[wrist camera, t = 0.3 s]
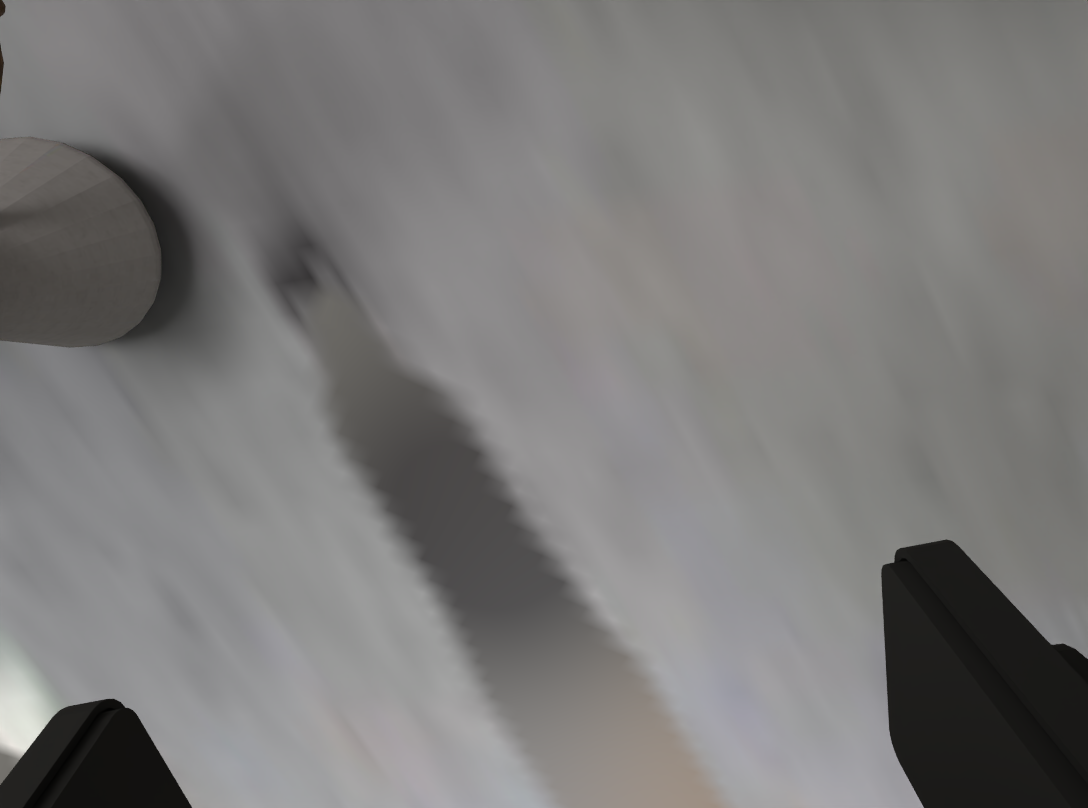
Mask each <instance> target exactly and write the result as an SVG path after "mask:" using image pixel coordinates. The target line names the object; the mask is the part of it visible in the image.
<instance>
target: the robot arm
mask: <svg viewBox="0 0 1088 808" xmlns="http://www.w3.org/2000/svg"><path fill="white" fill-rule="evenodd" d="M881 577H882V597H883V616H884V636H885V655H886V675H887V694H888V714H889V730H890V736H891V741H892V744H893V747H894V750H895V753H896V756H897V758H898V760H899V762H900V764H901V766H902V768H903V770H904V772H905V774H906V775H907V777H908V779H909V781H910V783H911V785H912V786H913V788H914V790H915V792H916V794H917V796H918V797H919V799H920V801H921V803H922V805H923V807H924V808H1088V659H1087V658H1085V657H1084V656H1083V655H1082V654H1081V653H1079V652H1078V651H1077V650H1076V649H1074V648H1072V647H1070V646H1067V645H1065V644H1056V645H1051V644H1050V643H1049V642H1048V641H1047V640H1046V639H1045V638H1044V637H1043V636H1042V635H1041V634H1040V633H1039V632H1038V631H1037V629H1036V628H1035V627H1034V626H1033V625H1032V624H1031V623H1030V622H1029V621H1028V620H1027V619H1026V618H1025V617H1024V616H1023V615H1022V613H1021V612H1020V611H1019V610H1018V609H1017V608H1016V607H1015V606H1014V605H1013V604H1012V603H1011V602H1010V601H1009V600H1008V599H1007V597H1006V596H1005V595H1004V594H1003V593H1002V592H1001V591H1000V590H999V589H998V588H997V587H996V586H995V585H994V584H993V582H992V581H991V580H990V579H989V578H988V577H987V576H986V575H985V574H984V573H983V572H982V571H981V570H980V569H979V568H978V566H977V565H976V564H975V563H974V562H973V561H972V560H971V559H970V558H969V557H968V556H967V555H966V554H965V553H964V552H963V550H962V549H961V548H960V547H959V546H958V545H956V544H955V543H954V542H953V541H950V540H942V541H937V542H931V543H926V544H921V545H916V546H910V547H905V548H900V549H898V550H897V551H896V554H895V561H894V563H890V564H885V565H883V567H882V573H881ZM0 808H192V807H191V805H190V803H189V802H188V800H187V798H186V797H185V795H184V793H183V792H182V790H181V788H180V787H179V785H178V783H177V782H176V780H175V778H174V776H173V775H172V773H171V771H170V770H169V768H168V766H167V765H166V763H165V761H164V760H163V758H162V756H161V755H160V753H159V751H158V750H157V748H156V746H155V745H154V743H153V741H152V739H151V738H150V736H149V734H148V733H147V731H146V729H145V728H144V726H143V724H142V723H141V721H140V719H139V718H138V716H137V714H136V713H135V712H134V711H133V710H131V709H129V708H125V707H124V706H123V704H122V703H121V702H119V701H117V700H115V699H105V700H99V701H94V702H89V703H84V704H78V705H73V706H68V707H66V708H64V709H61V710H60V711H59V712H58V713H57V714H56V715H54V716H53V717H52V719H51V720H50V721H49V723H48V724H47V725H46V727H45V728H44V729H43V730H42V732H41V733H40V734H39V736H38V737H37V738H36V740H35V741H34V742H33V743H32V745H31V746H30V747H29V749H28V750H27V751H26V753H25V754H24V755H23V756H22V758H21V759H20V760H19V762H18V763H17V764H16V765H15V767H14V768H13V769H12V771H11V772H10V774H9V775H8V776H7V777H6V779H5V780H4V781H3V783H2V784H1V785H0Z"/></svg>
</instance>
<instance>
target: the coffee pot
mask: <svg viewBox="0 0 1088 808" xmlns="http://www.w3.org/2000/svg"><path fill="white" fill-rule="evenodd" d="M4 13H5V4H4V3H3V1H2V0H0V16H2V15H3V14H4ZM3 66H4V62H3V57H2V52H1V45H0V92H1V84H2V75H3ZM160 280H161V247H160V244H159V240H158V236H157V233H156V229H155V226H154V223H153V221H152V220H151V218H150V216H149V214H148V212H147V211H146V209H145V207H144V205H143V203H142V201H141V200H140V199H139V198H138V196H137V195H136V194H135V193H134V192H133V191H132V190H131V188H130V187H129V186H128V185H127V184H126V183H125V182H124V180H123V179H122V178H121V177H119V176H118V175H117V174H115V173H114V172H113V171H111V170H110V169H109V168H107V167H106V166H104V165H103V164H102V163H100V162H99V161H98V160H96V159H95V158H94V157H92V156H90V155H88V154H86V153H84V152H82V151H79V150H77V149H75V148H73V147H71V146H68V145H66V144H64V143H60V142H55V141H50V140H44V139H39V138H34V137H21V138H8V139H1V140H0V340H2V341H12V342H22V343H31V344H41V345H51V346H60V347H84V346H96V345H100V344H103V343H106V342H109V341H111V340H114V339H117V338H120V337H122V336H123V335H125V334H126V333H127V332H128V331H130V330H131V329H132V328H134V327H135V326H136V325H138V324H139V323H140V322H141V321H142V319H143V318H144V316H145V315H146V313H147V312H148V310H149V309H150V307H151V306H152V304H153V303H154V301H155V298H156V294H157V291H158V287H159V284H160Z"/></svg>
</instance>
